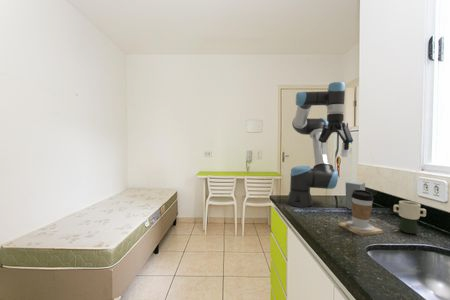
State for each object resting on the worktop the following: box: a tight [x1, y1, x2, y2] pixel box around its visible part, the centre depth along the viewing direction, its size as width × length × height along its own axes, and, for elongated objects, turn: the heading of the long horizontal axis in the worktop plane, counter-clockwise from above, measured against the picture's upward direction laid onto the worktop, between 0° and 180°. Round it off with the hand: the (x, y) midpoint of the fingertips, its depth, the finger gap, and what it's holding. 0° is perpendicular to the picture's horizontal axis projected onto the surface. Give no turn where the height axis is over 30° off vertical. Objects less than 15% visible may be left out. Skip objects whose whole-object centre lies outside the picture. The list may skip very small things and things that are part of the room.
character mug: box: [392, 200, 427, 235], centre depth 95 cm, size 11×7×13 cm, turn 55°
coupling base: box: [338, 220, 384, 237], centre depth 98 cm, size 12×12×2 cm
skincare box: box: [345, 180, 366, 210], centre depth 126 cm, size 8×7×16 cm
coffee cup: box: [351, 190, 375, 228], centre depth 96 cm, size 8×8×15 cm
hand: (333, 155), depth 111 cm, fingers open, 13 cm apart
